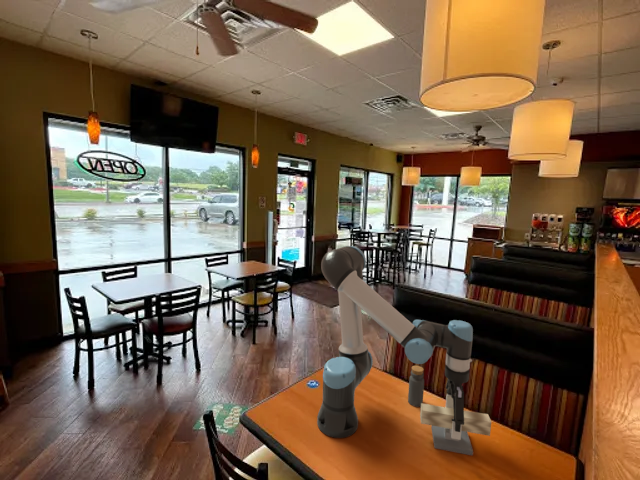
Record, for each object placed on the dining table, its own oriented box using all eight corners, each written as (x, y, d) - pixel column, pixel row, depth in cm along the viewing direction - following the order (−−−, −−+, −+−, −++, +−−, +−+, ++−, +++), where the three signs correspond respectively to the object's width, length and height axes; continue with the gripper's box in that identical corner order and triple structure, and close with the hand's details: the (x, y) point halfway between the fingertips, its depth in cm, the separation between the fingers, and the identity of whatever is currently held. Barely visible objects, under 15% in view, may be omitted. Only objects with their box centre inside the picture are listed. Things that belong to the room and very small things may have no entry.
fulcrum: (434, 448, 107) (435, 431, 107) (431, 427, 117) (432, 412, 116) (472, 455, 105) (474, 439, 104) (466, 434, 114) (467, 418, 114)
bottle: (423, 407, 128) (425, 373, 126) (408, 405, 130) (410, 371, 128) (421, 399, 134) (424, 365, 132) (407, 397, 135) (409, 363, 133)
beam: (486, 427, 109) (488, 414, 109) (489, 435, 106) (491, 422, 105) (420, 416, 114) (421, 403, 114) (421, 423, 111) (421, 410, 110)
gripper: (478, 389, 95) (472, 454, 97) (462, 351, 119) (457, 404, 121) (451, 385, 96) (446, 449, 99) (440, 348, 120) (436, 400, 123)
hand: (452, 424), depth 110 cm, fingers open, 13 cm apart
